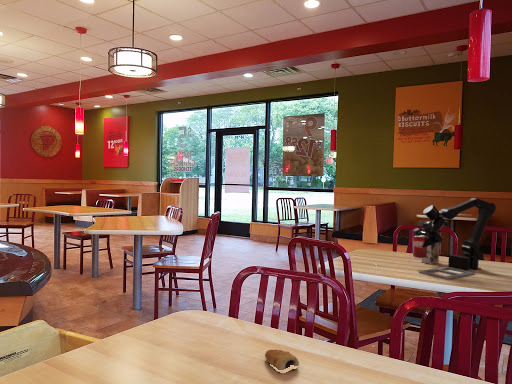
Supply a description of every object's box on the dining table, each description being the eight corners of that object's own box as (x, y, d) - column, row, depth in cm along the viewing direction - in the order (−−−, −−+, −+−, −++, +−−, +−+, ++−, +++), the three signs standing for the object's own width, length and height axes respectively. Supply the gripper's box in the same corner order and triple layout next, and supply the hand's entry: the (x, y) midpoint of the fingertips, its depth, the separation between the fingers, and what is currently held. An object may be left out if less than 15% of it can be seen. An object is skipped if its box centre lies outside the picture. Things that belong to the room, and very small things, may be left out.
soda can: (425, 259, 209) (426, 237, 208) (411, 257, 212) (412, 236, 212) (427, 257, 215) (428, 236, 214) (413, 255, 219) (414, 234, 218)
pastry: (258, 360, 99) (258, 345, 98) (279, 354, 102) (279, 340, 102) (280, 376, 91) (280, 360, 91) (302, 370, 94) (302, 354, 94)
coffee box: (431, 264, 227) (433, 237, 227) (421, 262, 232) (422, 235, 232) (439, 262, 233) (440, 236, 233) (428, 260, 238) (430, 234, 238)
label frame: (445, 267, 219) (445, 266, 219) (474, 274, 205) (474, 272, 205) (419, 272, 204) (419, 271, 204) (448, 279, 191) (448, 278, 191)
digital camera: (471, 269, 216) (472, 257, 216) (466, 270, 213) (467, 258, 213) (453, 266, 225) (454, 254, 225) (448, 266, 222) (448, 254, 222)
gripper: (416, 214, 223) (399, 233, 220) (439, 217, 205) (421, 238, 202) (427, 227, 225) (410, 246, 223) (451, 232, 207) (433, 253, 205)
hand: (418, 245), depth 213 cm, fingers closed on soda can, 7 cm apart
